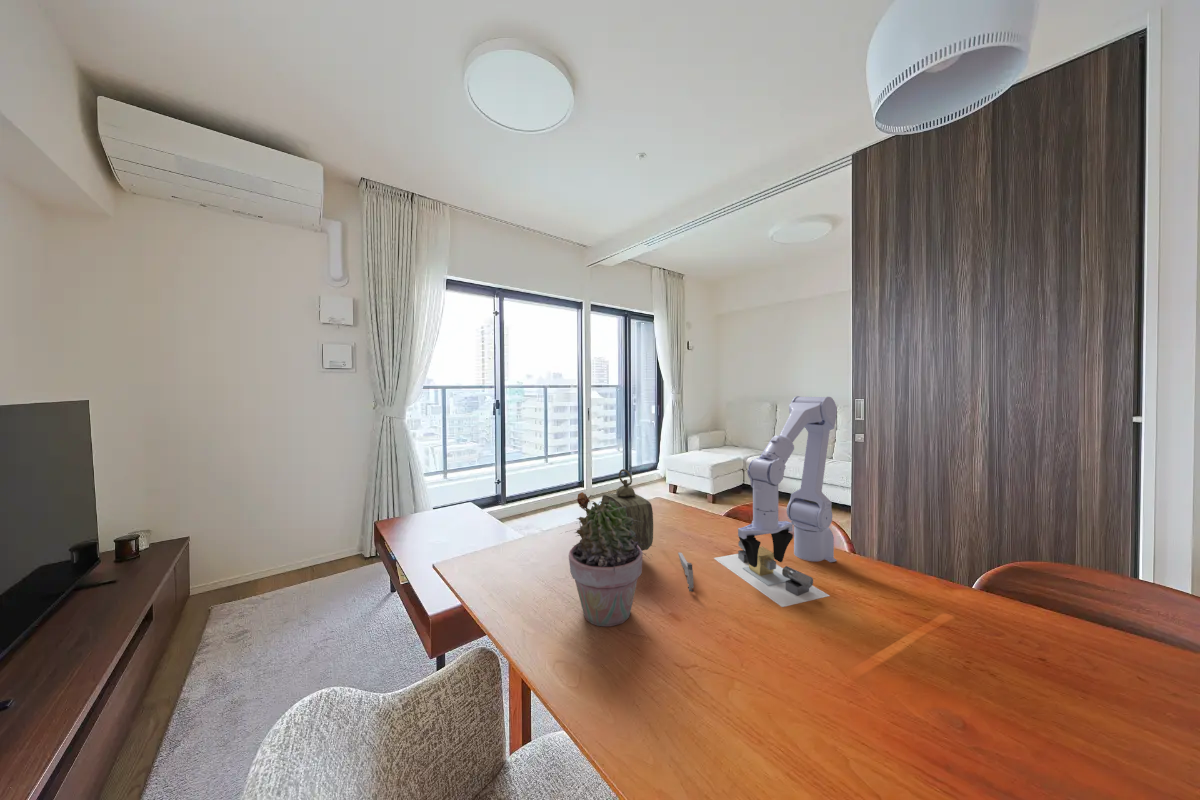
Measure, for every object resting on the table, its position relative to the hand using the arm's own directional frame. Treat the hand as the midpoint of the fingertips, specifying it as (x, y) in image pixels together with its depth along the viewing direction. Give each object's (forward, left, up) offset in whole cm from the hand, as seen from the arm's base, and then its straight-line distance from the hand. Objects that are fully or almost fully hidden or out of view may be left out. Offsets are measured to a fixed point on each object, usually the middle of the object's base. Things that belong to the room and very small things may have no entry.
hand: (765, 562), depth 97 cm
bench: (0, 0, -4) cm, 4 cm away
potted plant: (+41, +1, -4) cm, 41 cm away
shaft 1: (-1, -8, -3) cm, 9 cm away
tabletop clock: (+28, -22, -4) cm, 35 cm away
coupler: (0, -2, -3) cm, 3 cm away
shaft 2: (-1, +8, -3) cm, 9 cm away
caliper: (+17, -10, -4) cm, 20 cm away
